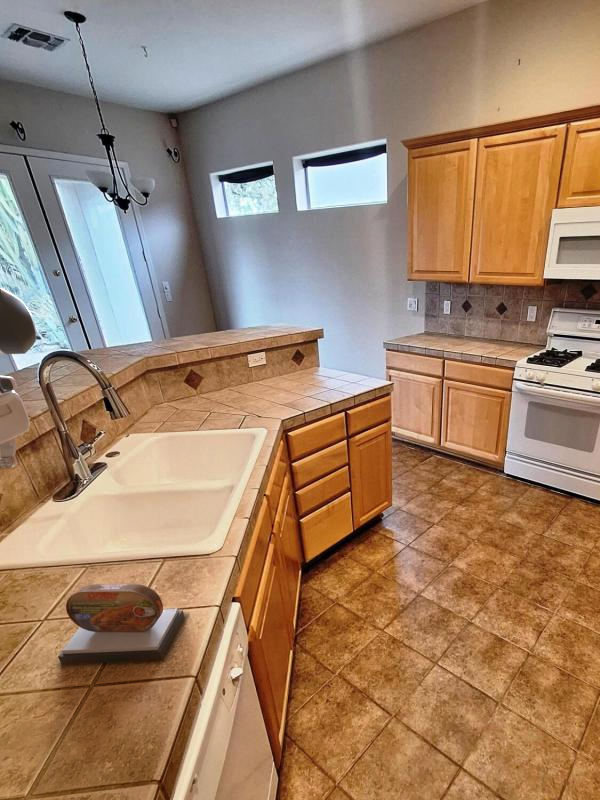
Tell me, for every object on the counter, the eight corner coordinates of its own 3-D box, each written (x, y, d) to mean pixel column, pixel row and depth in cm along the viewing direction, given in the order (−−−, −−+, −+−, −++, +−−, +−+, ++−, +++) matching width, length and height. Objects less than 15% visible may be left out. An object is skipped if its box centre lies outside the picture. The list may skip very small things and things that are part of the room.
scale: (62, 666, 70) (56, 653, 69) (96, 622, 79) (91, 609, 78) (162, 661, 72) (158, 648, 70) (185, 618, 81) (182, 606, 79)
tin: (73, 632, 73) (56, 593, 69) (85, 619, 76) (70, 581, 72) (161, 632, 73) (150, 594, 70) (170, 619, 76) (159, 581, 72)
